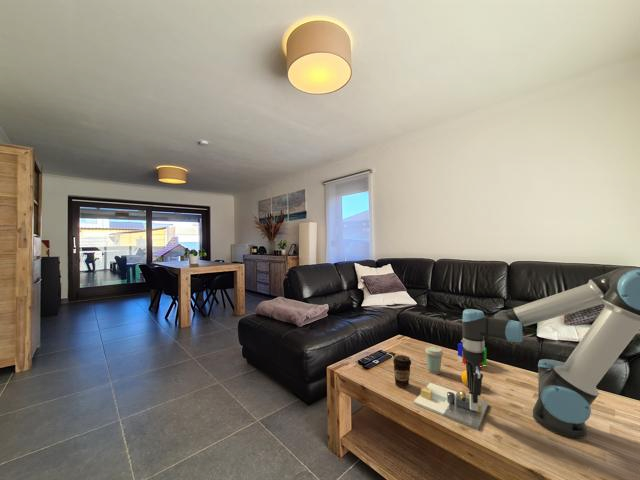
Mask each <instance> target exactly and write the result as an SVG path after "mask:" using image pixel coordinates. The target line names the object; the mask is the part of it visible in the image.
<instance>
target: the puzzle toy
mask: <svg viewBox="0 0 640 480" xmlns="http://www.w3.org/2000/svg"><path fill="white" fill-rule="evenodd" d="M463 348H464V347H463V342H459V343H457V361H458V362H459V361H460V362H459V363H461V362H462V364H463V363H464V364H463V365H465V364H466V363H465V361H468V360H466V359H464V358H463ZM484 354H485V360H484V362H481V363H479V365H480V366H483V365H488V364H487V361H488V360H487V358H488V357H487V347H485V350H484Z"/></svg>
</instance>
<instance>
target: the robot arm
mask: <svg viewBox="0 0 640 480" xmlns="http://www.w3.org/2000/svg"><path fill="white" fill-rule="evenodd" d="M600 305H604V306H603V309H601V311H600V312H599V314H598V316H597V317H596V318H595V320H594V321H593V323H592V324H591V326H590V327H589V329H587V331H586V333H585V334H584V335H583V336H582V338H581V340H579V342H578V344H577V346H576V347H575V348H574V350H573V351H572V352H571V354H570V355H569V357H568V358H567V359H566V361H565V362H563V361H559V360H554V359H548V358H544V359H543V358H542V359H539V361H538V364H537V367H538V369H537V370H538V371H537V372H538V375H537V376H538V377H537V378H538V382H537V383H538V384H537V387H538V388H537V389H538V393H537V394H538V398H537V400H536V401H535V403H534V407H532V408H533V409H532V418H533V419H534V421H535V422H536V423H537V424H538V425H540V426H541V427H543V428H544V429H546V430H548V431H550V432H552V433H554V434H557V435H559V436H563V437H566V438H571V439H582V438H581V437H584V436H586V437H587V434H588V428H587V424H586V421H588V420H589V419H590V416H591V413H592V409H591V405H592V404H593V403H594V402H595V400H596V399H597V397H598V396H599V395H600V393H599V390H598V389H597V385H598V384H599V383H600V381H602V379H603V378H604V377H605V375H606V373H608V371H609V370H610V368H611V367H612V365H614V363H615V362H616V361H617V359H618V358H619V357H620V355H621V354H622V353H623V352H624V350H625V349H626V347H628V345H629V344H630V342H631V341H632V340H633V339H634V337H635V336H636V334H637V333H638V332H639V330H640V267H639V266H638V267H637V266H624V267H620V268H616V269H614V270H611V271H609V272H607V273H604V274H601V275H599V276H596V277H592V278H591V279H589V280H588V282H587V283H586V284H582V285H579V286H577V287H576V286H575V287H574V288H571V289H567V290H563V291H562V292H559V293H556V294H552V295H550V296H547V297H543V298H541V299H537V300H534V301H531V302H528V303H525V304H523V305H519V306H516V307H512V308H511V309H504V310H503V309H502V310H500V311H497V313H495V315H494V317H489V316H485V313H484V311H482V310H480V309H473V308H466V309H464V310H463V311H462V320H461V323H462V325H461V326H462V339H461V341H460V343H463V347H464V348H463V358H464V359H466V360H468V361H465V363H466V365H465V367H466V369H465V370H467V383H468V386H467V387H468V390H469V391H468V394H469V396H470V409H471V410H474V411H478V399H479V396H481V395H482V383H483V377H484V375H483V373H481V371H482V367H480V365H479V363H481V362H484V360H485V354H484V350H485V348H486V347H485V345H486V344H485V343H486V342H485V338H490V339H491V338H492V339H496V340H503V341H508V342H511V343H513V342H515V343H522V342H523V328H524V327H527V326H531V325H533V324H538V323H541V322H545V321H549V320H551V319H555V318H558V317H561V316H565V315H569V314H572V313H576V312H579V311H582V310H586V309H589V308H593V307H596V306H600ZM584 438H585V437H584Z"/></svg>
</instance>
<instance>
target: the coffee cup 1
mask: <svg viewBox="0 0 640 480" xmlns="http://www.w3.org/2000/svg"><path fill="white" fill-rule="evenodd" d="M392 361H393V372H394V381H395V386H397V387H399V388H403V389H404V388H406V389H407V388H409V387H410V376H411V365H412V360H411V359H410V357H409V356H407V355H404V354H403V355H401V354H400V355H395V356H394V358H393V360H392Z"/></svg>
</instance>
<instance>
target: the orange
mask: <svg viewBox="0 0 640 480" xmlns="http://www.w3.org/2000/svg"><path fill="white" fill-rule="evenodd" d="M461 381H462V383H463V385H465V386H466V387H468V383H467V370H466V369H465V370H463V371H462V372H461Z"/></svg>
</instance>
